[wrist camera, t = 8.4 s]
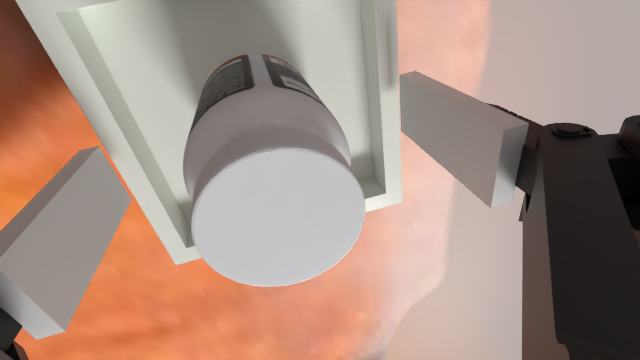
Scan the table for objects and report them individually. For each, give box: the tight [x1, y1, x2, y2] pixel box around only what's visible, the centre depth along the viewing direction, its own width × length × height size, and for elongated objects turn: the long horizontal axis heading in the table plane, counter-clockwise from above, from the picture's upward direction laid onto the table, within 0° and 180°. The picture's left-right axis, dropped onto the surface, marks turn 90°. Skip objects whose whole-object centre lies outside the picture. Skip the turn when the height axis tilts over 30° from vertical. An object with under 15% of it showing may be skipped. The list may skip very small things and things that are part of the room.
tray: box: [15, 0, 402, 265], centre depth 16 cm, size 14×14×2 cm
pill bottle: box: [183, 53, 365, 287], centre depth 12 cm, size 6×6×10 cm
